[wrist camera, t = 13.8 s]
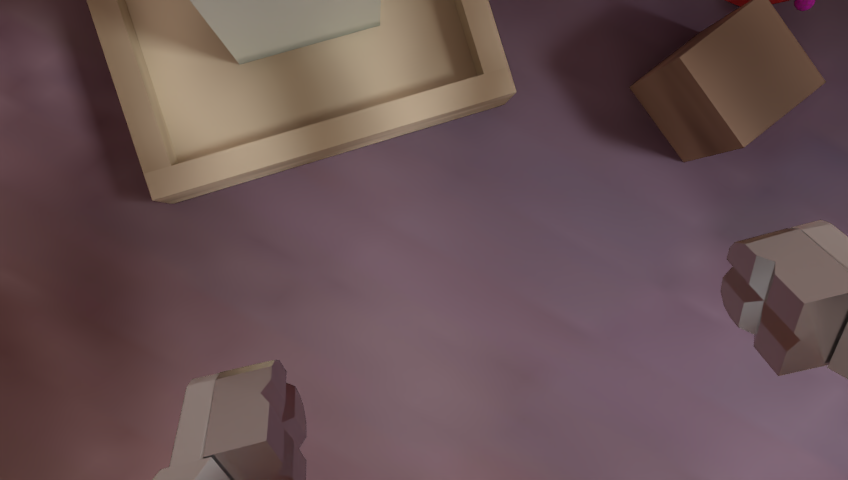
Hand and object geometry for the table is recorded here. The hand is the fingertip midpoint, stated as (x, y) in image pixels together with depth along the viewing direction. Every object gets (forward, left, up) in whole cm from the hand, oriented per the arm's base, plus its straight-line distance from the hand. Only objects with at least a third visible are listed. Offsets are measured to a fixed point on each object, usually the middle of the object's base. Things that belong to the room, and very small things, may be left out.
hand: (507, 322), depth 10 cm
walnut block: (-13, -4, -13) cm, 19 cm away
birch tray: (+2, -13, -13) cm, 18 cm away
